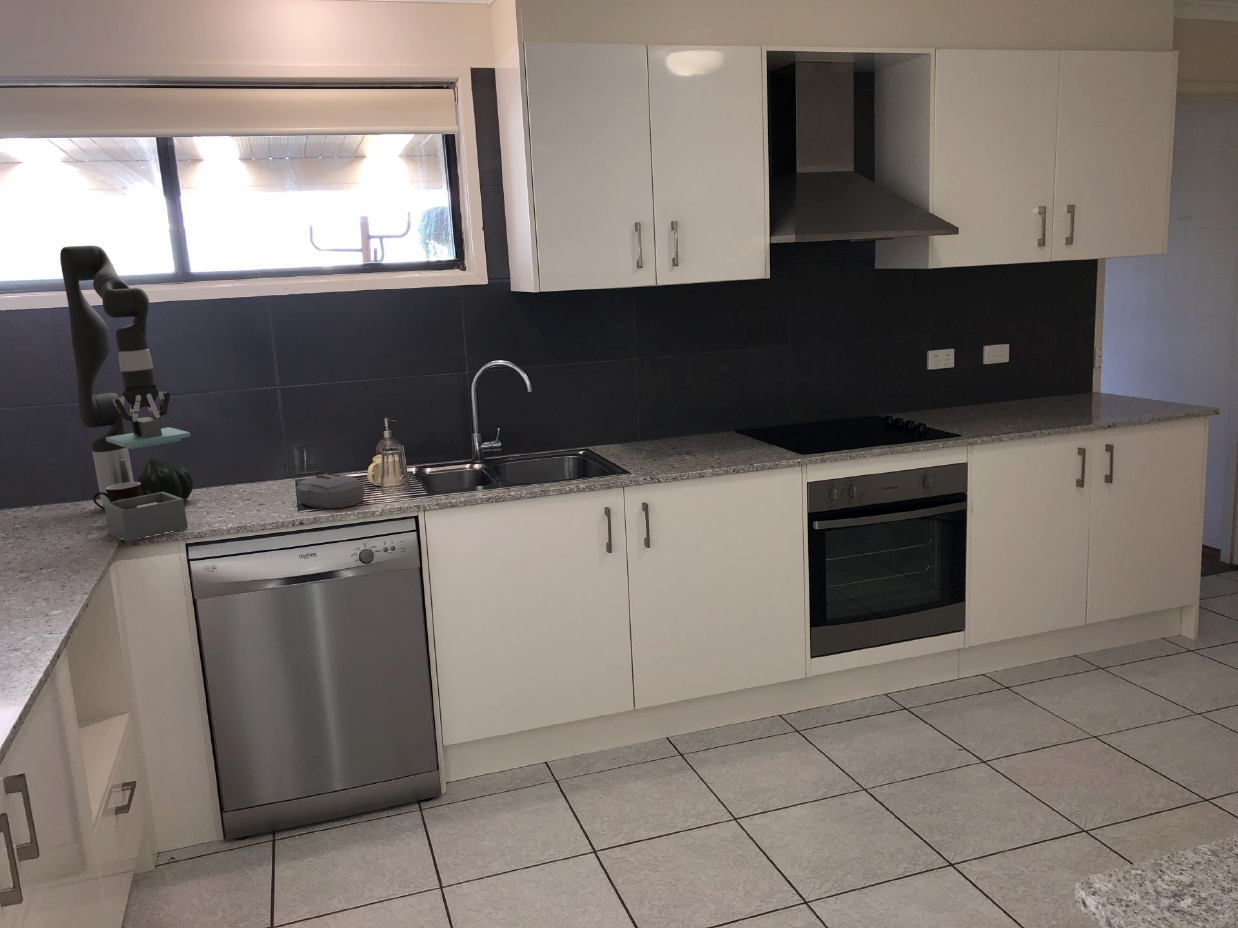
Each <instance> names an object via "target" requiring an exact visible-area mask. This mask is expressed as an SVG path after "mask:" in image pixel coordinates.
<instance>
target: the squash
mask: <svg viewBox="0 0 1238 928" xmlns="http://www.w3.org/2000/svg"><path fill="white" fill-rule="evenodd" d="M137 479H138V480H137V482H139V483H141V496H144V495H149V494H154V493H159V492H166V493H168V494H171V495H174V496H177V497H179V498H182V499H183V500H184V501H186V500H187V499H188V498H189V497H190V495H191V493H192V492H193V487H194V486H193V485H194V484H193V478H192V476H191V474H190V472H189V471H188V469H186V467H184V466H182V465H180V464H178V463H176V462H173V461H171V460H166V459H163V458H158V457H157V458H156V457H153V458H149V459H148V461H146V464H145V466H144V467H143V468H142V471H141V472H140V474H139V476H138V478H137Z"/></svg>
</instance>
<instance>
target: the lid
mask: <svg viewBox="0 0 1238 928" xmlns="http://www.w3.org/2000/svg"><path fill="white" fill-rule="evenodd" d="M137 421H138V422H139V428H140V434H141V436H136V434H134V433H133V432H132V433H131V432H130V433H126V434H124V435H117V436H111V437H106V441H108V442H111V443H114V444H117V445H120V446H123V447H127V448H128V449H129V450H130V449H131V450H134V449H139V448H144V447H145V448H146V447H151V446H157V445H162V444H163V445H165V444H169V443H175V442H181V441H182V440H181V439H183V438H189V437H192V436H191V432H189V431H185V430H182V429H179V428H174V427H171V426H169V427H163V428H162V424H161V425H160V423H161V419H160V420H158V419H153V417H148V416H147V417H146V416H145V417H138V420H137Z"/></svg>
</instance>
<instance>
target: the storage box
mask: <svg viewBox="0 0 1238 928" xmlns="http://www.w3.org/2000/svg"><path fill="white" fill-rule="evenodd" d="M184 501H185V500H183V499H182V498H179V497H177V496H174V495H171V494H168V493H166V492H159V493H154V494H149V495H144V496H139V497H134V498H129V499H124V500H119V501H114V502H109V503H104V507H105V510H104V511H105V512H104V513H105V517H106V518H105V519H106V523H107V528H108V534H109V535H111V536H113V537H116V538H118V537H119V538H118V539H120V538H123V539H124V540H125V541H126V542H125V541H124V542H125V543H132V542H135V540H136V541H138V540H137V539H138V538H144V537H146V536H153V535H156V534H163V533H165V532H171V531H176V532H178V531H177V530H180V529H185V530H187V529H186V528H188V529H189V525H188V520H187V514H186V513H187V511H186V507H185V502H184ZM180 531H181V530H180ZM163 535H164V534H163Z"/></svg>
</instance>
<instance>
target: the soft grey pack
mask: <svg viewBox="0 0 1238 928" xmlns="http://www.w3.org/2000/svg"><path fill="white" fill-rule="evenodd" d="M365 492H366V489H365V487H364V484H363V483H362V482H360V480H358V479H357V478H355V477H354V476H349V475H345V474H340V473H333V472H330V473H329V472H324V474H321V475H319V474H315V476H313V477H310V478H305V479H304V480H301V481H300V482H298V483H297V484H296V487H295V494H296V495H295V496H296V498H297V500H298V501H299V502H300V503H301V504H303V505H305V506H306V507H311V508H315V509H322V510H325V509H327V510H328V509H342V508H347V507H351V506H356V505H358V504H361V503H362V502H363V500H364V498H365Z"/></svg>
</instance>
